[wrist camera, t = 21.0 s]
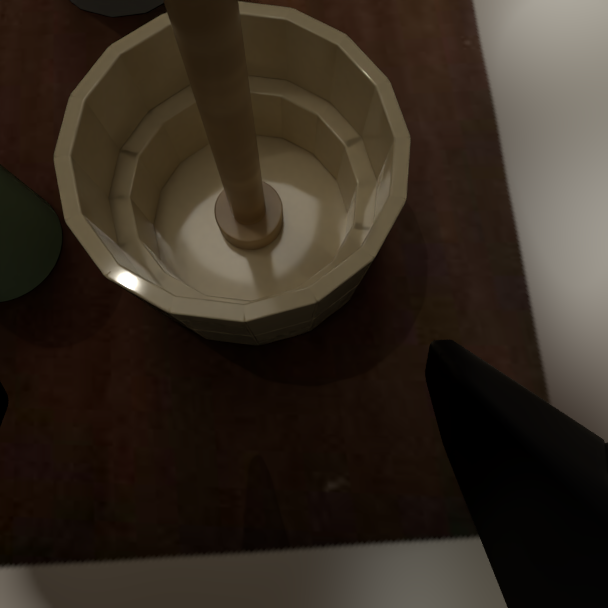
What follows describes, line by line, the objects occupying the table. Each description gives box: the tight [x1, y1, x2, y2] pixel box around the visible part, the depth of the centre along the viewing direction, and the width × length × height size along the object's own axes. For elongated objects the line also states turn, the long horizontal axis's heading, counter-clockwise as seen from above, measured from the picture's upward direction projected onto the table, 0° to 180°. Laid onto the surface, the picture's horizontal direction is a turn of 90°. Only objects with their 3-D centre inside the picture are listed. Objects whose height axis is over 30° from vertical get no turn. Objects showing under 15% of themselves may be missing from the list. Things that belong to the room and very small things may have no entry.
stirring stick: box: [163, 0, 283, 250], centre depth 13 cm, size 3×3×17 cm
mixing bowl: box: [54, 1, 411, 345], centre depth 18 cm, size 12×12×7 cm
